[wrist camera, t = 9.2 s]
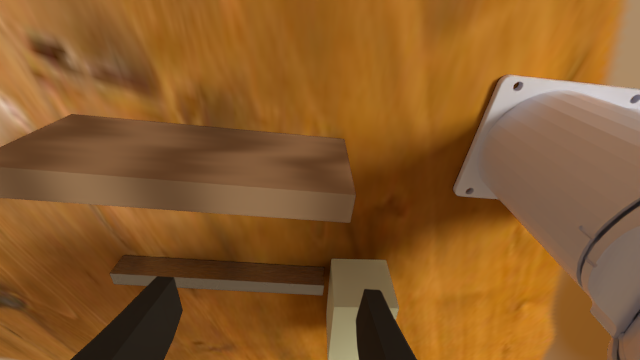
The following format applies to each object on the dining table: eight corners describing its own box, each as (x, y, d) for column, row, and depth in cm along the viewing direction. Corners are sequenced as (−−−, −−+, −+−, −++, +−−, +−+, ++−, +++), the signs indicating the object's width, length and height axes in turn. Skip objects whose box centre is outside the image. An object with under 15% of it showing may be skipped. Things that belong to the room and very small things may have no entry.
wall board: (344, 139, 18) (356, 195, 13) (340, 161, 18) (350, 222, 13) (71, 114, 17) (-37, 164, 11) (80, 139, 17) (-17, 196, 12)
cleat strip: (323, 267, 24) (324, 285, 22) (321, 276, 24) (322, 295, 23) (123, 255, 23) (109, 273, 21) (127, 265, 23) (114, 284, 22)
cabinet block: (385, 258, 24) (398, 308, 20) (372, 313, 27) (381, 363, 24) (331, 257, 23) (334, 307, 20) (326, 312, 27) (327, 362, 24)
